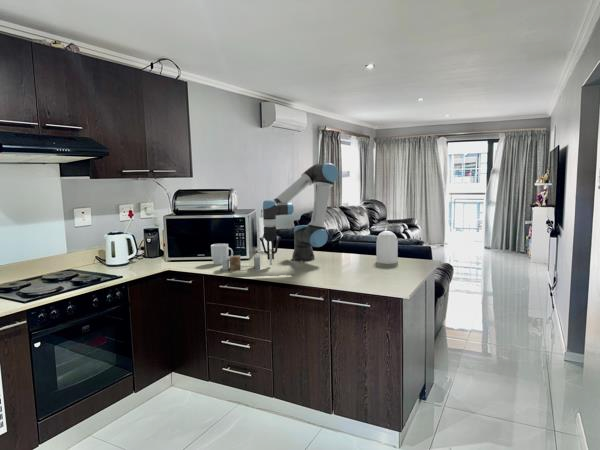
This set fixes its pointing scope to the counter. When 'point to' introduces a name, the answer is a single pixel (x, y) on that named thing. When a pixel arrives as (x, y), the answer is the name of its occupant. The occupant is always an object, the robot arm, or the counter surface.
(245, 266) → the vise base
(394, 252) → the container
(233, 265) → the block
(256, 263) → the free jaw
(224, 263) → the fixed jaw
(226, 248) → the mug
